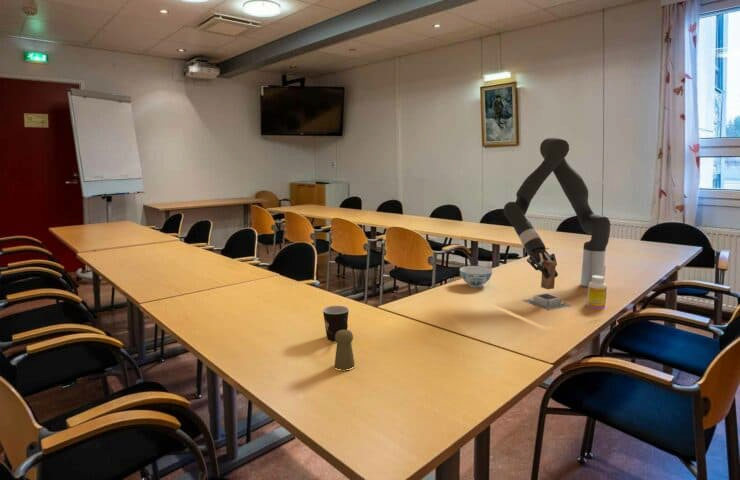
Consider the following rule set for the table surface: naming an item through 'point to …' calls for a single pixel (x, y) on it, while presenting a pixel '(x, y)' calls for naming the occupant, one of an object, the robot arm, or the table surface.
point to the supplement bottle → (597, 292)
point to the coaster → (549, 307)
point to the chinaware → (475, 275)
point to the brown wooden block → (551, 270)
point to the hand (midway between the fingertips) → (552, 277)
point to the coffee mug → (335, 320)
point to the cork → (344, 350)
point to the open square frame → (547, 300)
